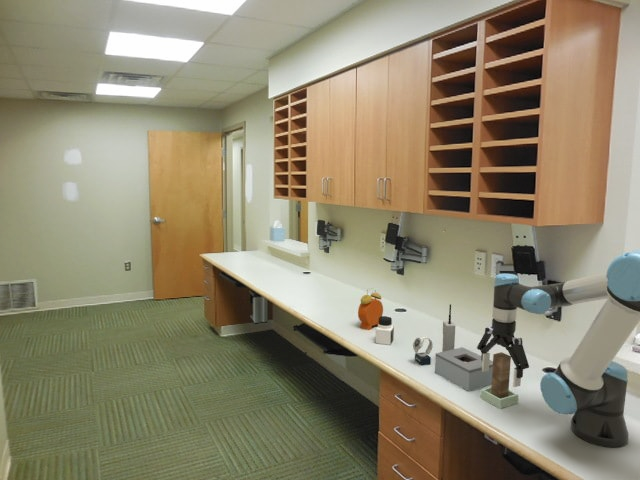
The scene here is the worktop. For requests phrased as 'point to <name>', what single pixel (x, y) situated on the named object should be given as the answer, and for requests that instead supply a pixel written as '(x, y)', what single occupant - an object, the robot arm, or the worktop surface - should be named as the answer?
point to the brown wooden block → (500, 375)
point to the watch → (422, 357)
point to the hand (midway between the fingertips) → (500, 378)
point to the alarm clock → (370, 310)
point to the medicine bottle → (385, 331)
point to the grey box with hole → (463, 368)
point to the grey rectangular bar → (448, 334)
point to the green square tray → (497, 401)
